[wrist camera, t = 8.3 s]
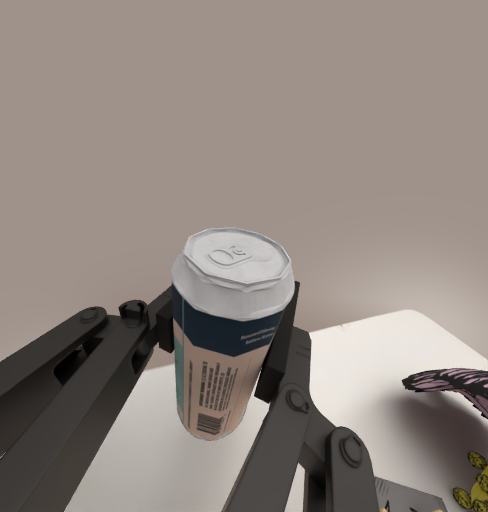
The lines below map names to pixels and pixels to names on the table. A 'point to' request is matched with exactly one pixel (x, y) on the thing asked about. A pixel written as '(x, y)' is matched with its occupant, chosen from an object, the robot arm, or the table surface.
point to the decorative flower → (484, 399)
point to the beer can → (224, 323)
